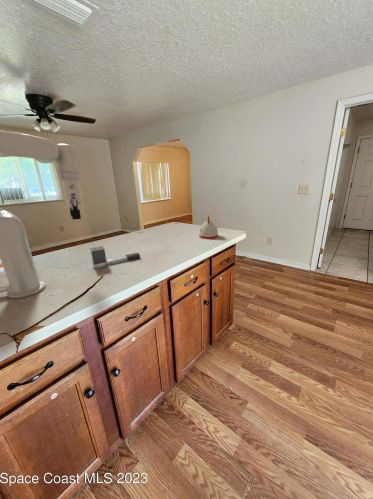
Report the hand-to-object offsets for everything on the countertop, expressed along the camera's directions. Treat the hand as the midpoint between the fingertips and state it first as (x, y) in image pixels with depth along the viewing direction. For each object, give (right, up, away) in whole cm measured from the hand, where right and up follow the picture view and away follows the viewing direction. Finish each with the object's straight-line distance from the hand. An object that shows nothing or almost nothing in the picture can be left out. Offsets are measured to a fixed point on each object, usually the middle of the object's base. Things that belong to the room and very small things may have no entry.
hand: (75, 217), depth 92 cm
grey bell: (+66, -5, +63) cm, 91 cm away
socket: (+4, -20, +15) cm, 26 cm away
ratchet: (+12, -21, +20) cm, 31 cm away
